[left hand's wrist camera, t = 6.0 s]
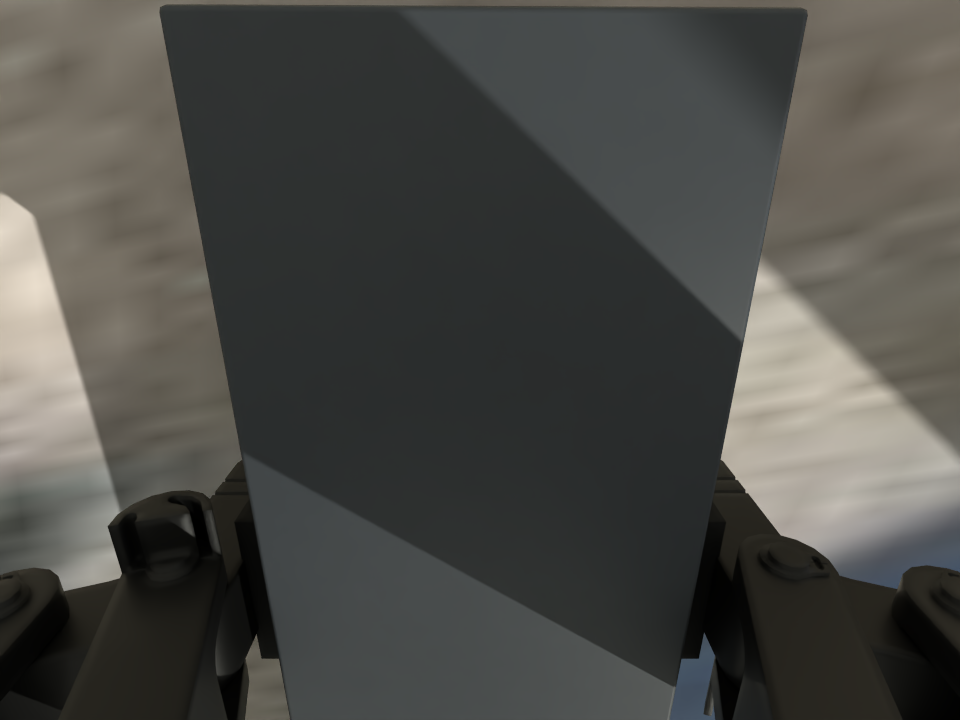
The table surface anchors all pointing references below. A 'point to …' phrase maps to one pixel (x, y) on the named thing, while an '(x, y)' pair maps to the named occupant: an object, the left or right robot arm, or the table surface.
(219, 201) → the bar
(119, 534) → the left robot arm
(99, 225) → the table surface
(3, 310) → the table surface
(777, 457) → the table surface
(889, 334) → the table surface
